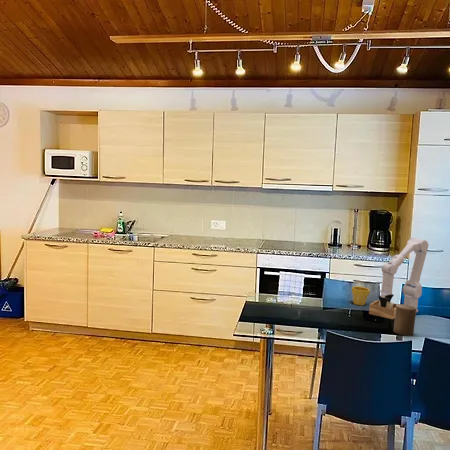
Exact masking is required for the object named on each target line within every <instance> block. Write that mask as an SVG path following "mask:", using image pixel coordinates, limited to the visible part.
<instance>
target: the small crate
mask: <svg viewBox="0 0 450 450" xmlns="http://www.w3.org/2000/svg"><path fill="white" fill-rule="evenodd" d="M393 304H395V303H394V302H391V301H390V302H387V304H386V308H390V309H393ZM379 306H381V304H380V302H379Z"/></svg>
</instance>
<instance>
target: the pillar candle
mask: <svg viewBox="0 0 450 450" xmlns="http://www.w3.org/2000/svg"><path fill="white" fill-rule="evenodd" d="M416 314H417V313H416V307H414V306H410V305H407V304H406V305H404V303H403V304H402V303H399V304H398V305H396V314H395V318H394V321H393V322H394V323H393V332H394V333H396V334H397V335H401V336H407V337H408V336H410V337H411V335H412V336H413V335H414V334H415V333H414V332H415V323H416Z"/></svg>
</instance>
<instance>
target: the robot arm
mask: <svg viewBox="0 0 450 450" xmlns="http://www.w3.org/2000/svg"><path fill="white" fill-rule="evenodd" d="M428 249H429V242H428V241H427V240H426V239H421V238H417V237H410V238H409V240H407V242H406V245H405V247H404V248H403V249H402V250H401V252H399V254H395V255H393V257H392V258H391V259H390V260H389V261H388V262H386V263H384V264H383V265H382V267H381V272H382V282H381V283H382V285H381V289H380V290H379V293H381V294H380V295H378V300H379V301H380V304H381V307H385V308H386V304H387V302H391V300H393V298H394V295H395V294H393V285H394V278H395V277H394V276H395V275H396V273H397V272H398V269H399V267H401V265H402V264H403V263H404V261H405V260H404V259H405V258H407V256H409V255H410V254H411V253H412V252H414V254H415V257H414V261H413V266H412V267H411V273H410V277H409V280H406V281H405V283H404V285H403V287H402V294H403V296H404V299H403V300H404V301H403V304H404V305H406V304H407V305H410V306H414V307H416V314H417V313H418V312H419V309H418V306H419V305H418V303H419V298H420V297H421V296H422V294H423V290H422V289H423V286H422V284H421V283H420V280H421V275H422V271H423V268H424V265H425V261H426V256H427V253H428Z"/></svg>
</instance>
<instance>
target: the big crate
mask: <svg viewBox="0 0 450 450" xmlns="http://www.w3.org/2000/svg"><path fill="white" fill-rule="evenodd" d="M379 302H380V300H379V299H377V300H376V299H375V301H373V302H371V303H370V304H369V309H368V315H373V316H376V317H381V318H385V319H389V320H395V314H396V305H398V304H397V303H394V304H393V309H390V308H385V307H381V306H379Z"/></svg>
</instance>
